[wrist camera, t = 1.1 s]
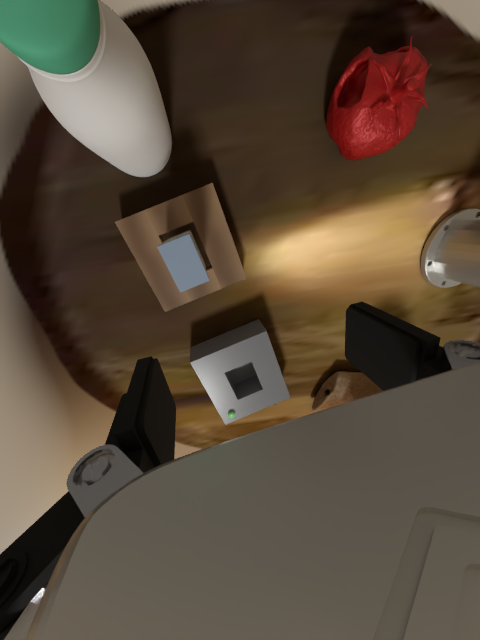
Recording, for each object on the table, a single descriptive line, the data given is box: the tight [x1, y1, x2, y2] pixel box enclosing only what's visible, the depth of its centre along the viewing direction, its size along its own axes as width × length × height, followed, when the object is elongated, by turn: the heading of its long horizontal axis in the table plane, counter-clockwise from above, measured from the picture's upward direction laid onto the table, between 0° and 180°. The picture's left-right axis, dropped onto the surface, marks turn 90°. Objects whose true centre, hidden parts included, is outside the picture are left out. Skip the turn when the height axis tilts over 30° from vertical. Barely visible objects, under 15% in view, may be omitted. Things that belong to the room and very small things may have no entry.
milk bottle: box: [0, 0, 172, 177], centre depth 17 cm, size 8×8×20 cm
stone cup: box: [312, 371, 383, 412], centre depth 41 cm, size 15×12×15 cm
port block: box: [190, 319, 290, 425], centre depth 39 cm, size 12×14×5 cm
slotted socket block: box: [115, 183, 246, 312], centre depth 31 cm, size 12×12×3 cm
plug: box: [157, 230, 210, 293], centre depth 27 cm, size 3×5×11 cm
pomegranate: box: [326, 36, 432, 160], centre depth 25 cm, size 10×10×9 cm
